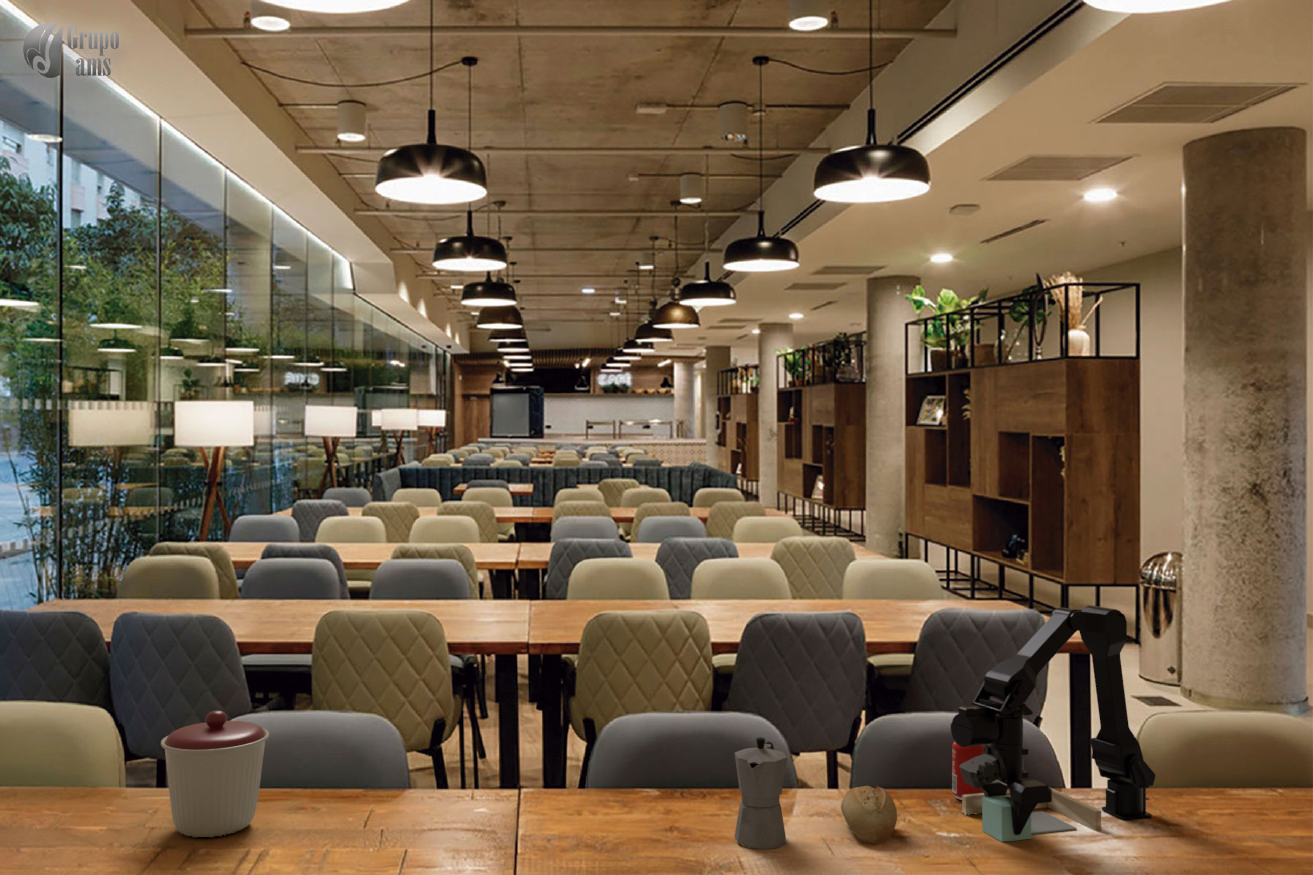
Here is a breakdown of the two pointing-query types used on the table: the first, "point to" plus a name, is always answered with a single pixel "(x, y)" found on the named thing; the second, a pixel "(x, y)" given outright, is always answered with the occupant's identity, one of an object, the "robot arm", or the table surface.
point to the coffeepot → (760, 796)
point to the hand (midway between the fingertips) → (1006, 828)
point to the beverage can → (958, 758)
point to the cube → (1001, 819)
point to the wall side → (974, 803)
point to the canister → (214, 775)
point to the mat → (1047, 823)
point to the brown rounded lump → (869, 813)
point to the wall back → (1075, 810)
